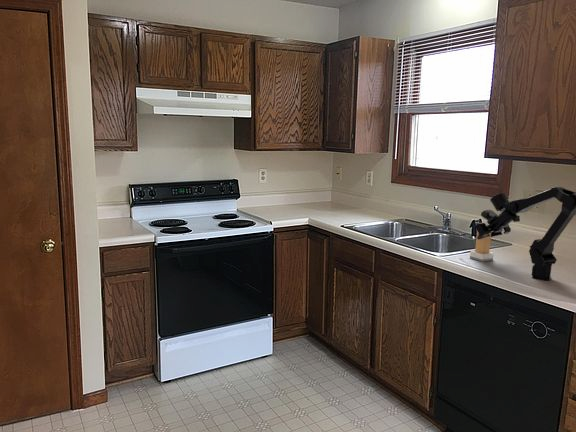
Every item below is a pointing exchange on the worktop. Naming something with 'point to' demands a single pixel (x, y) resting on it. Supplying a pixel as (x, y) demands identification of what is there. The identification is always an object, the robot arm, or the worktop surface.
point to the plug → (483, 244)
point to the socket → (481, 256)
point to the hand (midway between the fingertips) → (481, 238)
